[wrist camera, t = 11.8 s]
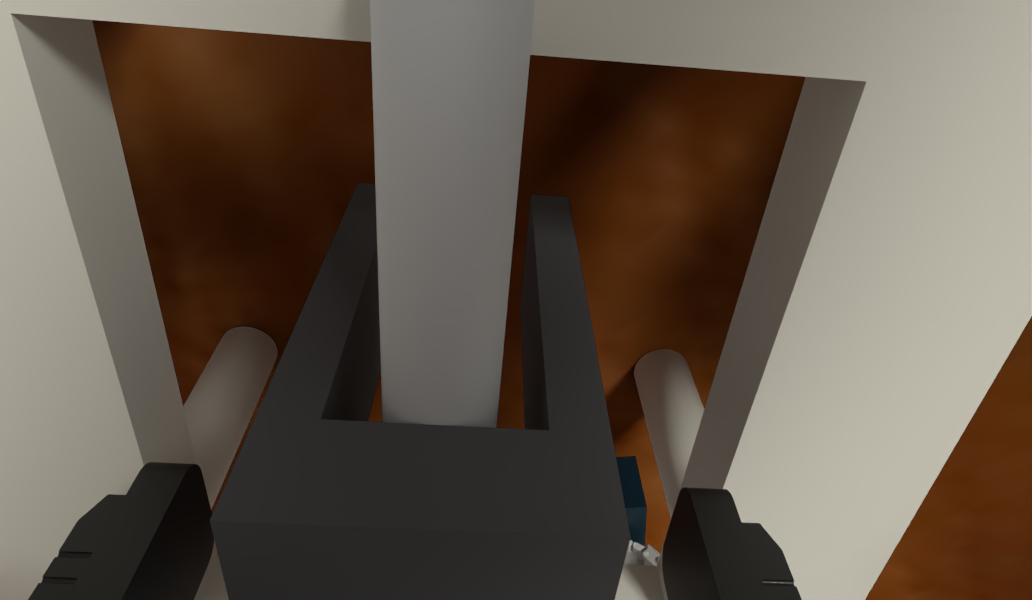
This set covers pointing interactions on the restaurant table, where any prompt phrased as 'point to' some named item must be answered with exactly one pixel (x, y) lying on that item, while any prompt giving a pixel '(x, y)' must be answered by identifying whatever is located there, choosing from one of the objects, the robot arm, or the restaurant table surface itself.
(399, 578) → the grey u-shaped bracket
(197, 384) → the square frame stand
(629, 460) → the watch
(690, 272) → the restaurant table surface
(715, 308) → the restaurant table surface
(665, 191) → the restaurant table surface
